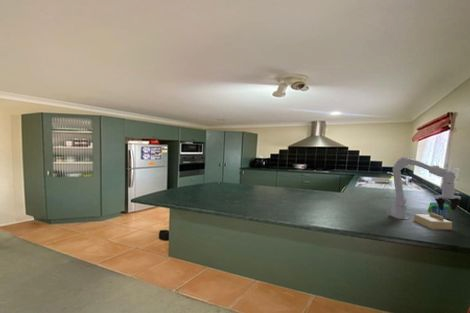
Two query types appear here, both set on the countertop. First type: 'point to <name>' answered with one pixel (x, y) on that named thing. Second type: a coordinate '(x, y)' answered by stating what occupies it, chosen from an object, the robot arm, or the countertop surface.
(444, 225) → the mailer box
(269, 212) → the countertop surface
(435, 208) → the snack cup
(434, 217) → the mailer lid
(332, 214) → the countertop surface
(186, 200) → the countertop surface
